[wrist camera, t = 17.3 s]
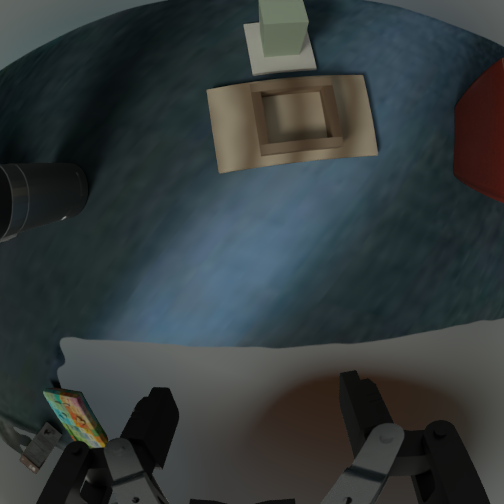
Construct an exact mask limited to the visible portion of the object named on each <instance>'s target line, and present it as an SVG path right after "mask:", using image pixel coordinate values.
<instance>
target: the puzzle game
mask: <svg viewBox="0 0 504 504" xmlns="http://www.w3.org/2000/svg"><path fill="white" fill-rule="evenodd" d="M43 393H44V395H45V397H46V399H47V400H48V402H49V404H50V405H51V407H52V409H53V410H54V412H55V413H56V415H57V416H58V418H59V419H60V421H61V422H62V424H63V425H64V427H65V428H66V430H67V431H68V433H69V434H70V435H71V437H72V438H73V440H74V441H83V442H85V443H86V444H87V445H88V446H89V447H90V448H100V447H105V445H106V444H107V443H108V438H107V435H106V433H105V431H104V430H103V428H102V427H101V425H100V423H99V422H98V420H97V418H96V417H95V415H94V413H93V412H92V410H91V408H90V406H89V404H88V403H87V401H86V399H85V397H84V395H83V393H82V392H80V391H74V390H68V389H63V388H62V389H60V388H45V389H44V390H43Z"/></svg>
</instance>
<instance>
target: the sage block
mask: <svg viewBox="0 0 504 504" xmlns="http://www.w3.org/2000/svg"><path fill="white" fill-rule="evenodd" d="M259 22H260V38H261V43H262V49H263V54H264V58H265V57H275V56H287V55H299V54H300V51H301V47H302V44H303V40H304V37H305V34H306V30H307V27H308V23H309V21H308V17H307V13H306V10H305V6H304V3H303V0H259Z"/></svg>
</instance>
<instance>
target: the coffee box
mask: <svg viewBox="0 0 504 504" xmlns="http://www.w3.org/2000/svg"><path fill="white" fill-rule="evenodd" d="M61 436H62V434H61V433H59V432H58V431H57V430H56V429H55V428H53V427H52V426H51V425H50V424H49V423H48V422H46V423H45V424H44V426H43V427H42V428H41V429H40V431H39V432H38V433H37V435H36V436H35V438H34V439H33V440H32V441H31V443H30V444H29V445H28V447H27V448H26V449H25V451H24V452H23V454H22V455H21V458H20V461H21V462H22V463H23V464H24V465H25V466H26V467H27V468H29V469H30V470H31V471H32V472H33V473H35V474H37V472H38V471H39V469H40V468H41V466H42V465H43V463H44V462H45V460H46V459H47V457H48V456H49V454H50V453H51V451H52V450H53V448H54V447H55V445H56V444H57V442H58V441H59V439H60V438H61Z"/></svg>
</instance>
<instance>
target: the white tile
mask: <svg viewBox="0 0 504 504" xmlns="http://www.w3.org/2000/svg"><path fill="white" fill-rule="evenodd" d="M244 30H245V35H246V41H247V46H248V51H249V57H250V62H251V68H252V73H253V76H256V75H264V74H272V73H282V72H293V71H307V70H316V64H315V59H314V55H313V51H312V47H311V43H310V39H309V36H308V32H307V30H306V34H305V37H304V40H303V44H302V47H301V51H300V54H299V55H287V56H275V57H265V58H264V54H263V49H262V43H261V38H260V22H259V23H251V24H244Z"/></svg>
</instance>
